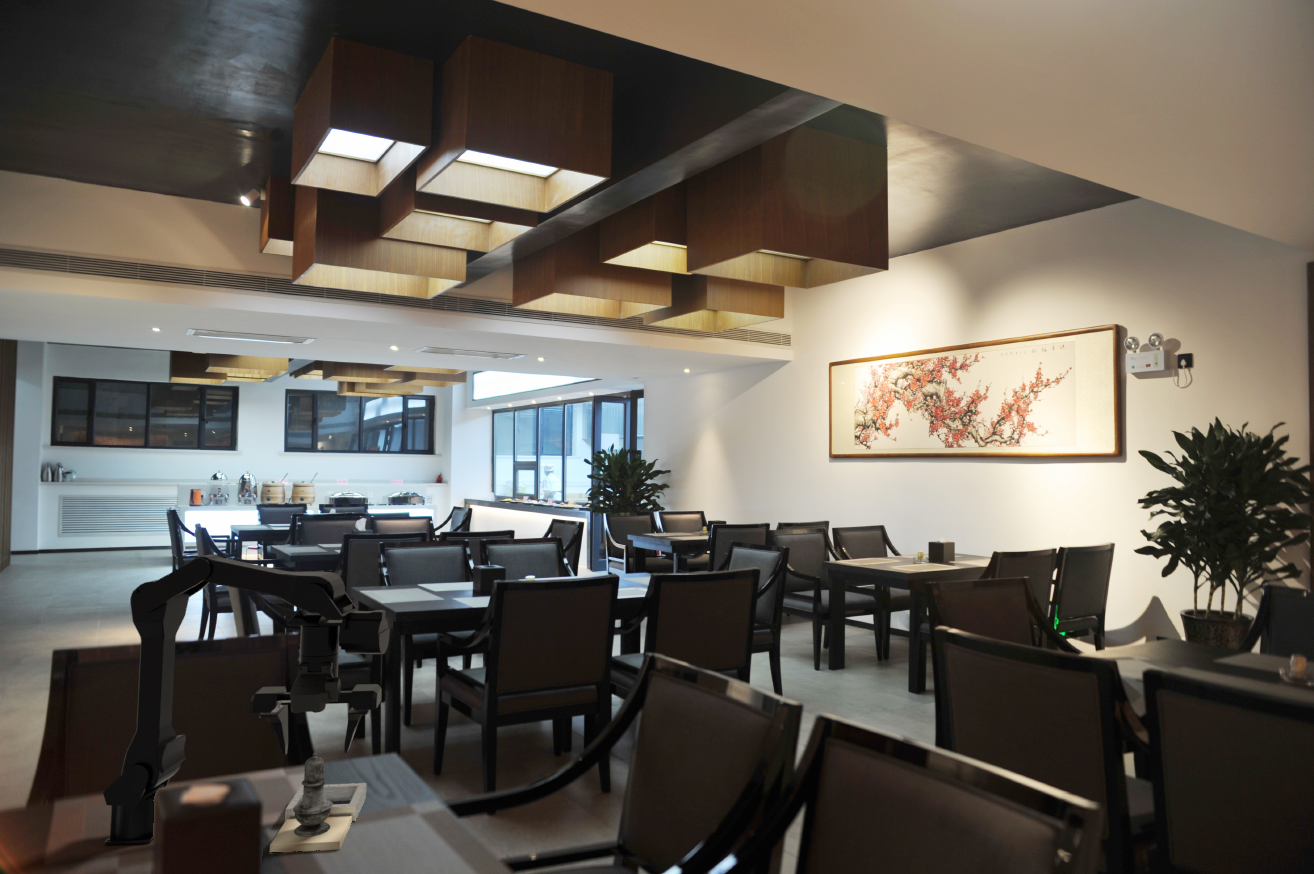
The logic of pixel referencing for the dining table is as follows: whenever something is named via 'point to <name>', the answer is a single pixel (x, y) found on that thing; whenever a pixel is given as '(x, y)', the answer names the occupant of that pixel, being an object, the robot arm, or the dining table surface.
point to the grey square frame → (336, 799)
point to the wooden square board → (325, 841)
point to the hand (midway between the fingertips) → (315, 753)
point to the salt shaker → (313, 800)
